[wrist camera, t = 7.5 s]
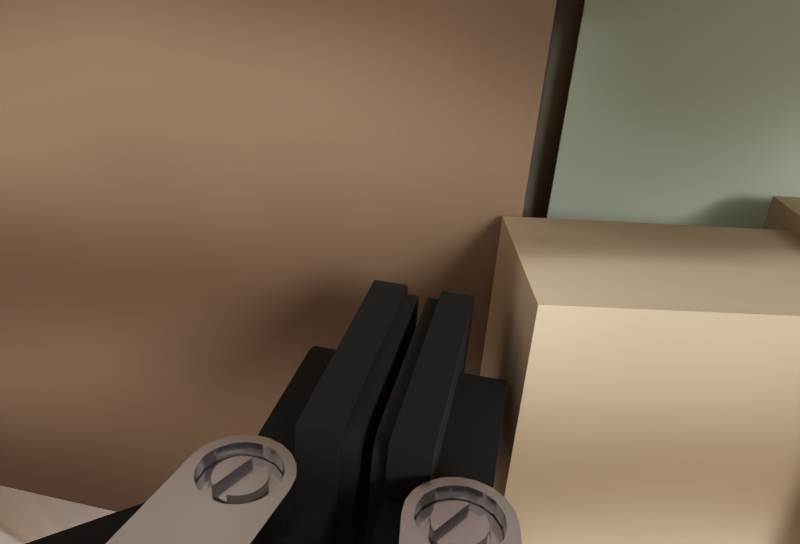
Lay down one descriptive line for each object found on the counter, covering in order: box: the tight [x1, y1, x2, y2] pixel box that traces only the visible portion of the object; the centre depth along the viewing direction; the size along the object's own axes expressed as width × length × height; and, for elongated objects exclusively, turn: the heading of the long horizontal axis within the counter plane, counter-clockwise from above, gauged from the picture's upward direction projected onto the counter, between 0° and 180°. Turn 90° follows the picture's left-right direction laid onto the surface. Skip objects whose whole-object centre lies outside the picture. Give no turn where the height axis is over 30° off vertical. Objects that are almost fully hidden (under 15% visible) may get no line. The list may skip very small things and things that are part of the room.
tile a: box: [480, 216, 800, 544], centre depth 12 cm, size 5×5×3 cm
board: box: [0, 0, 557, 512], centre depth 15 cm, size 14×12×3 cm
